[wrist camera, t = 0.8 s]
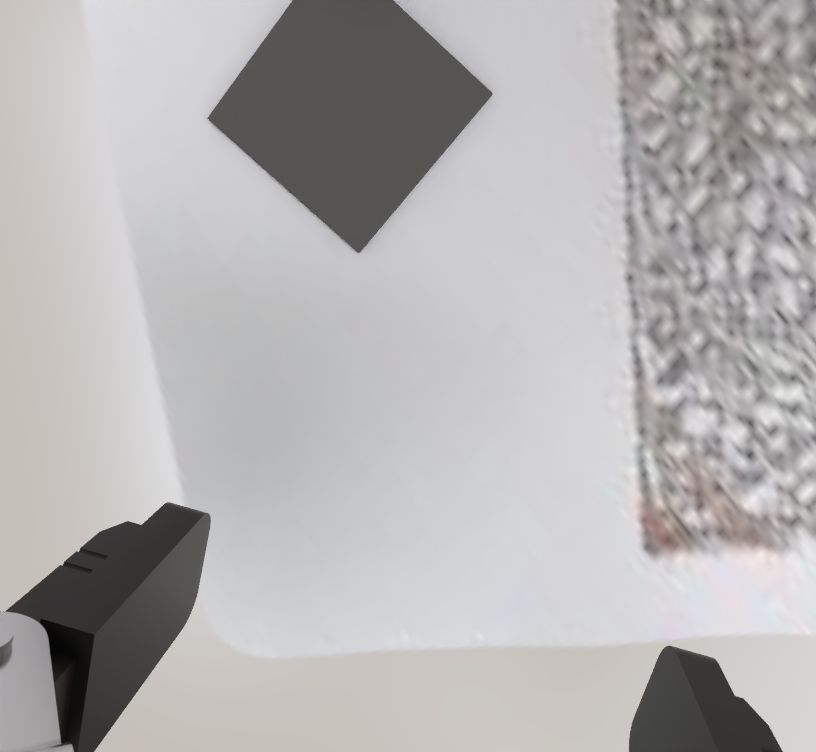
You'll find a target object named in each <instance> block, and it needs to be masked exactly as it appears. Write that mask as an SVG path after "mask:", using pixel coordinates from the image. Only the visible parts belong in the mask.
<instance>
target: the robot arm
mask: <svg viewBox="0 0 816 752" xmlns="http://www.w3.org/2000/svg"><path fill="white" fill-rule="evenodd" d="M209 530H210V515H209V514H208V513H205V512H201V511H198V510H194V509H190V508H187V507H183V506H180V505H176V504H173V503H165V504H164V505H163V506H162V507H161V508H160V509H159V510H158V511H156V512H155V513H154V514H153V515H152V516H151V517H150V518H149V519H148V520H147V521H146V522H144V523H143V524H142V525H139V524H136V523H132V522H129V521H127V522H124V523H122V524H119V525H117V526H114V527H111V528H109V529H106V530H103V531H101V532H99V533H98V534H97V535H96V536H94V537H93V538H92V539H91V540H90V541H88V542H87V543H86V544H85V545H84V546H83V547H81V548H80V551H79V552H75V553H74V554H73V555H72V556H71V557H69V558H68V559H67V560H66V561H65V562H64V564H63V566H61V565H60V566H59V567H57V568H56V569H55V570H54V571H53V572H52V573H50V574H49V575H48V576H47V577H46V578H45V579H43V580H42V581H41V582H40V583H39V584H37V585H36V586H35V587H34V588H33V589H31V590H30V591H29V592H28V593H27V594H25V595H24V596H23V597H22V598H21V599H20V600H18V601H17V602H16V603H15V604H14V605H12V606H11V607H10V608H9V609H8V610H6V611H5V612H1V611H0V752H94V751H95V750H96V748H97V747H98V745H99V744H100V743H101V741H102V740H103V738H104V737H105V736H106V734H107V733H108V731H109V730H110V729H111V727H112V726H113V725H114V723H115V722H116V720H117V719H118V718H119V716H120V715H121V714H122V712H123V711H124V709H125V708H126V707H127V705H128V704H129V702H130V701H131V700H132V698H133V697H134V695H135V694H136V693H137V691H138V690H139V688H140V687H141V686H142V684H143V683H144V681H145V680H146V679H147V677H148V676H149V674H150V673H151V672H152V670H153V669H154V668H155V666H156V665H157V663H158V662H159V661H160V659H161V658H162V656H163V655H164V654H165V652H166V651H167V650H168V648H169V647H170V645H171V644H172V643H173V641H174V640H175V638H176V637H177V636H178V634H179V633H180V632H181V630H182V629H183V627H184V625H185V624H186V622H187V620H188V618H189V616H190V614H191V611H192V609H193V606H194V603H195V600H196V597H197V593H198V588H199V583H200V577H201V572H202V567H203V561H204V556H205V551H206V545H207V540H208V535H209ZM629 752H783V751H782V750H781V748H780V746H779V744H778V742H777V740H776V739H775V737H774V735H773V733H772V731H771V729H770V728H769V726H768V724H767V723H766V722H764V720H763V719H762V718H761V717H760V716H759V715H758V714H757V713H756V712H755V711H754V710H753V708H752V707H751V706H750V705H749V704H748V703H747V702H746V701H745V700H744V699H743V698H739V697H736V696H735V695H734V694H733V692H732V690H731V688H730V686H729V684H728V682H727V680H726V678H725V676H724V674H723V672H722V670H721V668H720V666H719V664H718V662H717V661H716V660H715V659H714V658H711V657H708V656H704V655H701V654H697V653H693V652H690V651H686V650H683V649H679V648H676V647H672V646H667V647H665V648H664V649H663V650H662V652H661V653H660V655H659V657H658V659H657V662H656V664H655V667H654V669H653V672H652V675H651V677H650V680H649V682H648V684H647V687H646V689H645V692H644V694H643V697H642V699H641V702H640V704H639V707H638V709H637V712H636V714H635V717H634V720H633V723H632V727H631V731H630V740H629Z"/></svg>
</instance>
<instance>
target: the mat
mask: <svg viewBox="0 0 816 752" xmlns="http://www.w3.org/2000/svg"><path fill="white" fill-rule="evenodd" d="M491 96H492V92H491V91H490V90H488V89H487V88H486V87H485V86H484V85H483V84H482V83H481V82H480V81H479V80H478V79H477V78H476V77H475V76H473V75H472V74H471V73H470V72H469V71H468V70H467V69H466V68H465V67H464V66H463V65H462V64H461V63H460V62H458V61H457V60H456V59H455V58H454V57H453V56H452V55H451V54H450V53H449V52H448V51H447V50H446V49H445V48H443V47H442V46H441V45H440V44H439V43H438V42H437V41H436V40H435V39H434V38H433V37H432V36H431V35H429V34H428V33H427V32H426V31H425V30H424V29H423V28H422V27H421V26H420V25H419V24H418V23H417V22H416V21H414V20H413V19H412V18H411V17H410V16H409V15H408V14H407V13H406V12H405V11H404V10H403V9H402V8H401V7H399V6H398V5H397V4H396V3H395V2H394V1H393V0H293V1H292V3H291V4H290V5H289V7H288V8H287V9H286V11H285V12H284V14H283V15H282V16H281V18H280V19H279V20H278V22H277V23H276V25H275V26H274V27H273V29H272V30H271V31H270V33H269V34H268V36H267V37H266V38H265V40H264V41H263V42H262V44H261V45H260V47H259V48H258V49H257V51H256V52H255V53H254V55H253V56H252V58H251V59H250V60H249V62H248V63H247V65H246V66H245V67H244V69H243V70H242V71H241V73H240V74H239V76H238V77H237V78H236V80H235V81H234V82H233V84H232V85H231V87H230V88H229V89H228V91H227V92H226V93H225V95H224V96H223V98H222V99H221V100H220V102H219V103H218V104H217V106H216V107H215V109H214V110H213V111H212V113H211V114H210V115H209V117H208V119H209V120H210V121H211V122H212V123H213V124H214V125H216V126H217V127H218V128H219V129H220V130H221V131H222V132H223V133H225V134H226V135H227V136H228V137H229V138H230V139H231V140H232V141H234V142H235V143H236V144H237V145H238V146H239V147H240V148H241V149H243V150H244V151H245V152H246V153H247V154H248V155H249V156H250V157H252V158H253V159H254V160H255V161H256V162H257V163H258V164H259V165H261V166H262V167H263V168H264V169H265V170H266V171H267V172H268V173H270V174H271V175H272V176H273V177H274V178H275V179H276V180H277V181H279V182H280V183H281V184H282V185H283V186H284V187H285V188H286V189H288V190H289V191H290V192H291V193H292V194H293V195H294V196H295V197H297V198H298V199H299V200H300V201H301V202H302V203H303V204H304V205H306V206H307V207H308V208H309V209H310V210H311V211H312V212H313V213H315V214H316V215H317V216H318V217H319V218H320V219H321V220H322V221H324V222H325V223H326V224H327V225H328V226H329V227H330V228H331V229H333V230H334V231H335V232H336V233H337V234H338V235H339V236H340V237H342V238H343V239H344V240H345V241H346V242H347V243H348V244H349V245H351V246H352V247H353V248H354V249H355V250H356V251H357V252H358V253H359V252H361V250H362V249H363V248H364V247H365V246H366V244H367V243H368V242H369V241H370V240H371V239H372V237H373V236H374V235H375V234H376V233H377V231H378V230H379V229H380V228H381V227H382V225H383V224H384V223H385V222H386V221H387V219H388V218H389V217H390V216H391V215H392V213H393V212H394V211H395V210H396V209H397V208H398V206H399V205H400V204H401V203H402V202H403V200H404V199H405V198H406V197H407V196H408V194H409V193H410V192H411V191H412V190H413V188H414V187H415V186H416V185H417V184H418V183H419V181H420V180H421V179H422V178H423V177H424V175H425V174H426V173H427V172H428V171H429V169H430V168H431V167H432V166H433V165H434V163H435V162H436V161H437V160H438V159H439V157H440V156H441V155H442V154H443V153H444V152H445V150H446V149H447V148H448V147H449V146H450V144H451V143H452V142H453V141H454V140H455V138H456V137H457V136H458V135H459V134H460V132H461V131H462V130H463V129H464V128H465V126H466V125H467V124H468V123H469V122H470V121H471V119H472V118H473V117H474V116H475V115H476V113H477V112H478V111H479V110H480V109H481V107H482V106H483V105H484V104H485V103H486V101H487V100H488V99H489V98H490V97H491Z"/></svg>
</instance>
